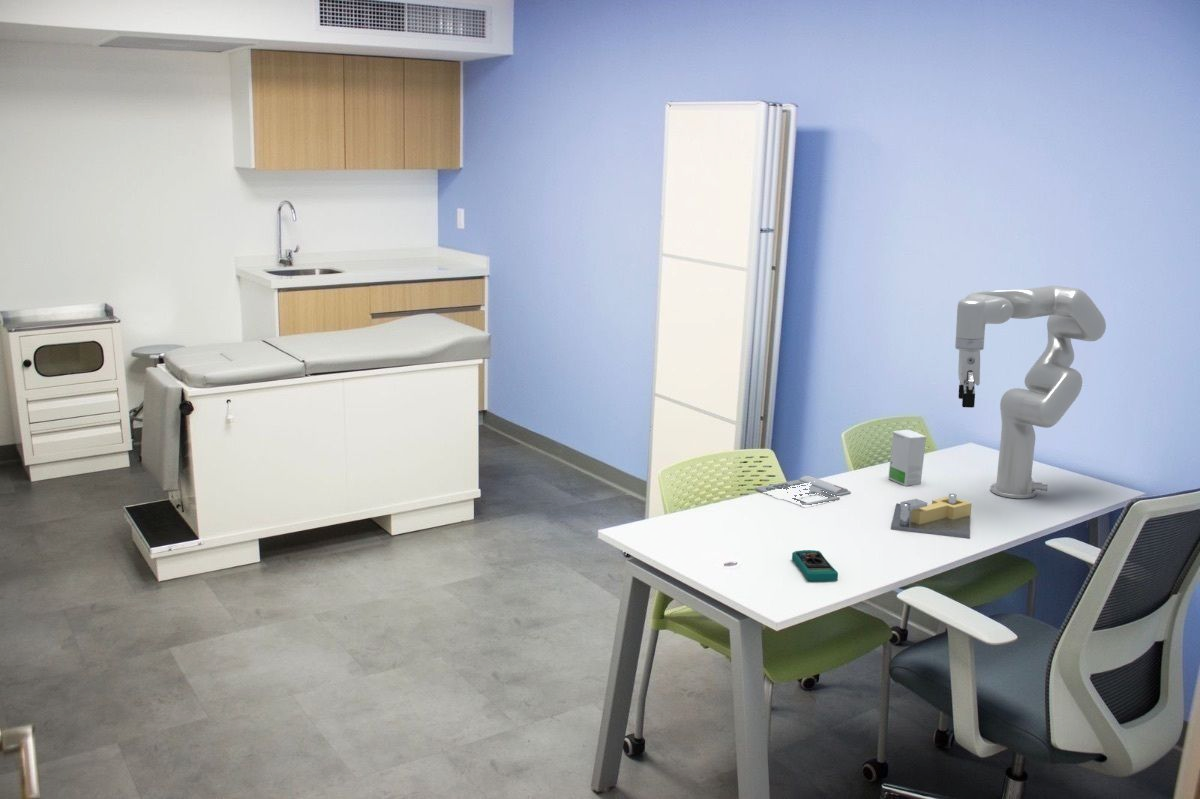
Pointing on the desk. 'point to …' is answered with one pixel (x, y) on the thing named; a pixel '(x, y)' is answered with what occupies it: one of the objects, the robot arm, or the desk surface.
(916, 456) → the skincare box
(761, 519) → the desk surface
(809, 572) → the digital multimeter
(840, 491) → the office telephone
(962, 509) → the link
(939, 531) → the pintle plate
